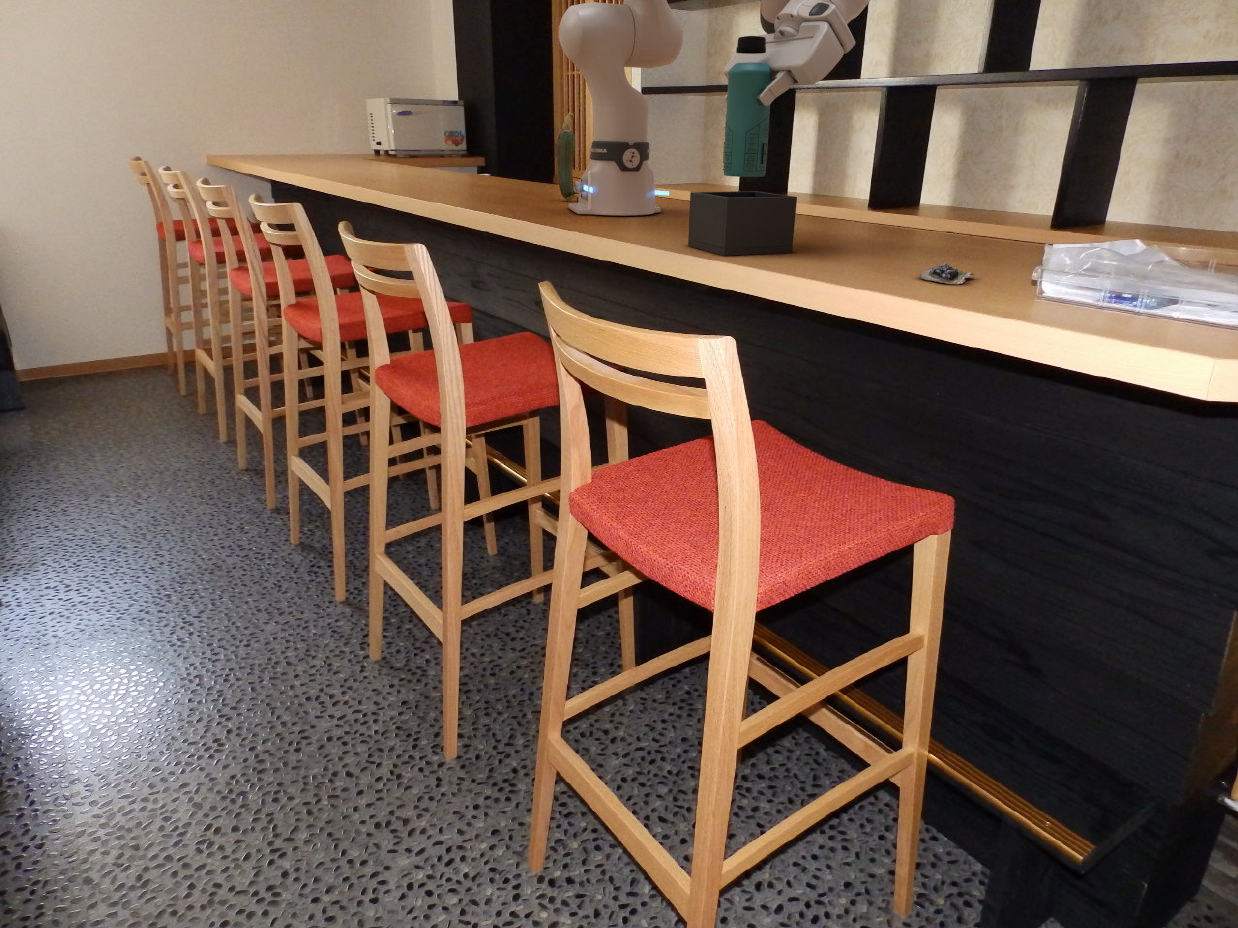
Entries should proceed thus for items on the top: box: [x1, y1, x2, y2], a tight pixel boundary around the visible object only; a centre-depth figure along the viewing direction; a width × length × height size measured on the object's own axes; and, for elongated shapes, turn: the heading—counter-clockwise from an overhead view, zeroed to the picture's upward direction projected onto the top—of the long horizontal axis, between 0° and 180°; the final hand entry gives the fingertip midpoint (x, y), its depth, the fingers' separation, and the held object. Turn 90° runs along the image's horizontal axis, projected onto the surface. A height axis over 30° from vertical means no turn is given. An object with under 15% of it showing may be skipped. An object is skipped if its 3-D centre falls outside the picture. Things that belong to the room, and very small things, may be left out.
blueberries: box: [920, 263, 976, 285], centre depth 105 cm, size 7×8×2 cm
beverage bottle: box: [722, 35, 772, 178], centre depth 121 cm, size 6×7×20 cm
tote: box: [687, 190, 798, 257], centre depth 127 cm, size 12×12×8 cm
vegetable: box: [556, 111, 576, 202], centre depth 200 cm, size 4×4×20 cm
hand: (744, 103), depth 120 cm, fingers closed on beverage bottle, 6 cm apart
